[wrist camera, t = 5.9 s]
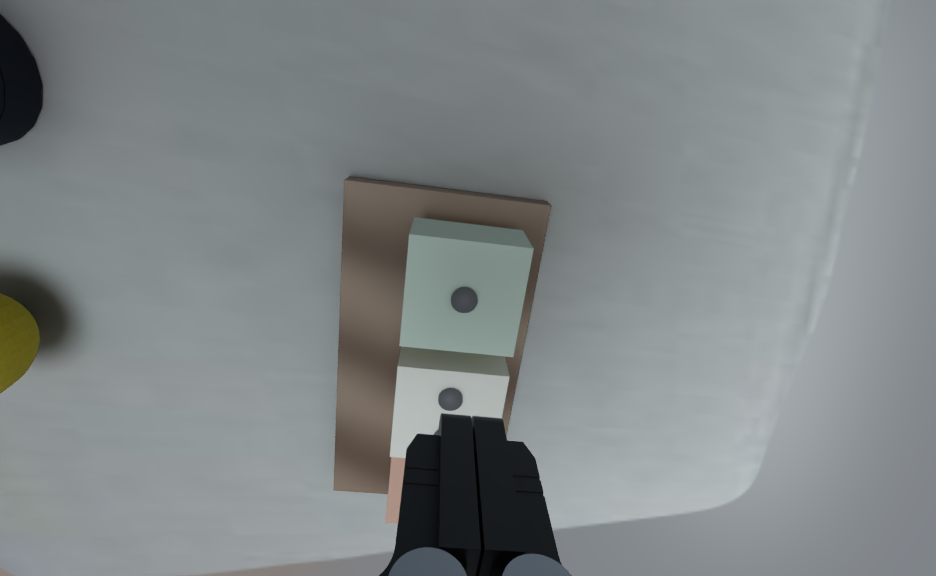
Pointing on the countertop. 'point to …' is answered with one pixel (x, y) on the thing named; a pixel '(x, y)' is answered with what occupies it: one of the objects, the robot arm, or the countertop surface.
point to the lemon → (16, 341)
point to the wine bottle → (17, 86)
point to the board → (400, 308)
